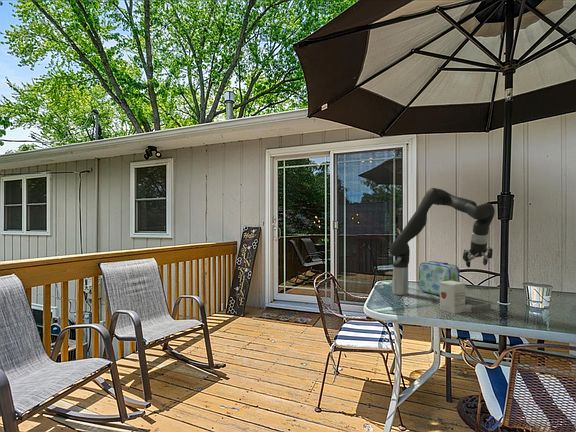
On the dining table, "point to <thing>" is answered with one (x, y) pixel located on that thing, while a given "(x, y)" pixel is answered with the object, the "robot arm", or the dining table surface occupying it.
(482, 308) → the tray
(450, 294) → the supplement box
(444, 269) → the lunch box
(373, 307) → the dining table surface
